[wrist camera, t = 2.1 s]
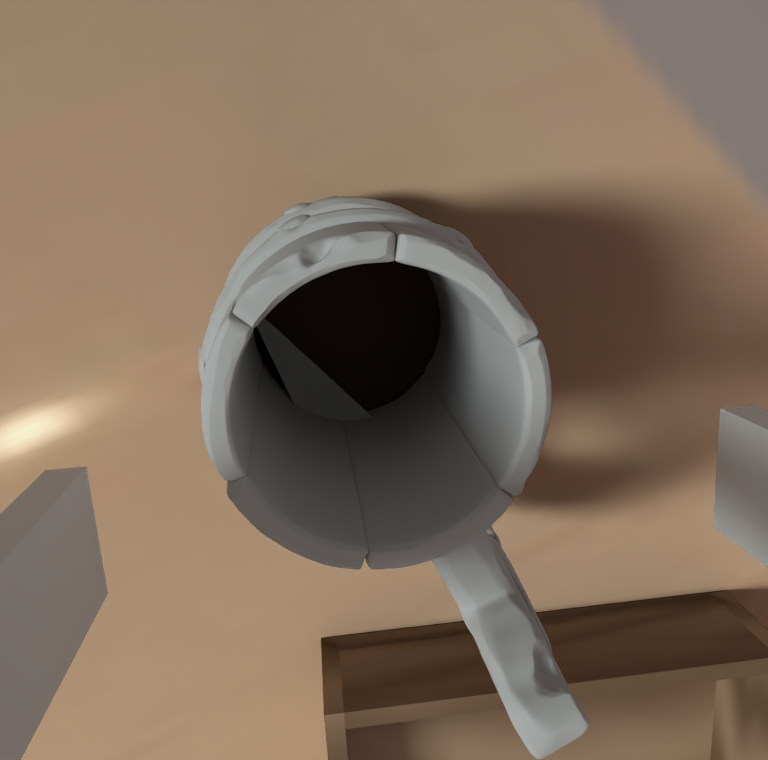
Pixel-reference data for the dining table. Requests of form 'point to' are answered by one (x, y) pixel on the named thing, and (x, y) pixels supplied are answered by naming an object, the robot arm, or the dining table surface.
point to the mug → (393, 435)
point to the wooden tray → (583, 676)
